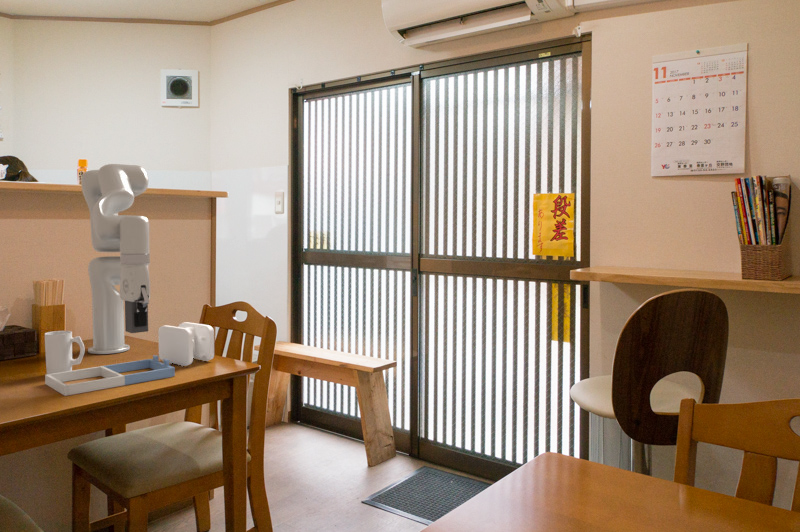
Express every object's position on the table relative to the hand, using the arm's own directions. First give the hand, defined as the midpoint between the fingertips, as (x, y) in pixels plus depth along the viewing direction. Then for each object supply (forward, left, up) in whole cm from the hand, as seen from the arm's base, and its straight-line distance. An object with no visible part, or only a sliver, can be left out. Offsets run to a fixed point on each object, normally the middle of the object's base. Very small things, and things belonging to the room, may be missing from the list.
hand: (136, 324), depth 172 cm
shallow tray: (0, -7, -15) cm, 16 cm away
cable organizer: (-7, +18, -15) cm, 24 cm away
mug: (-15, -14, -15) cm, 25 cm away
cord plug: (0, 0, -2) cm, 2 cm away
